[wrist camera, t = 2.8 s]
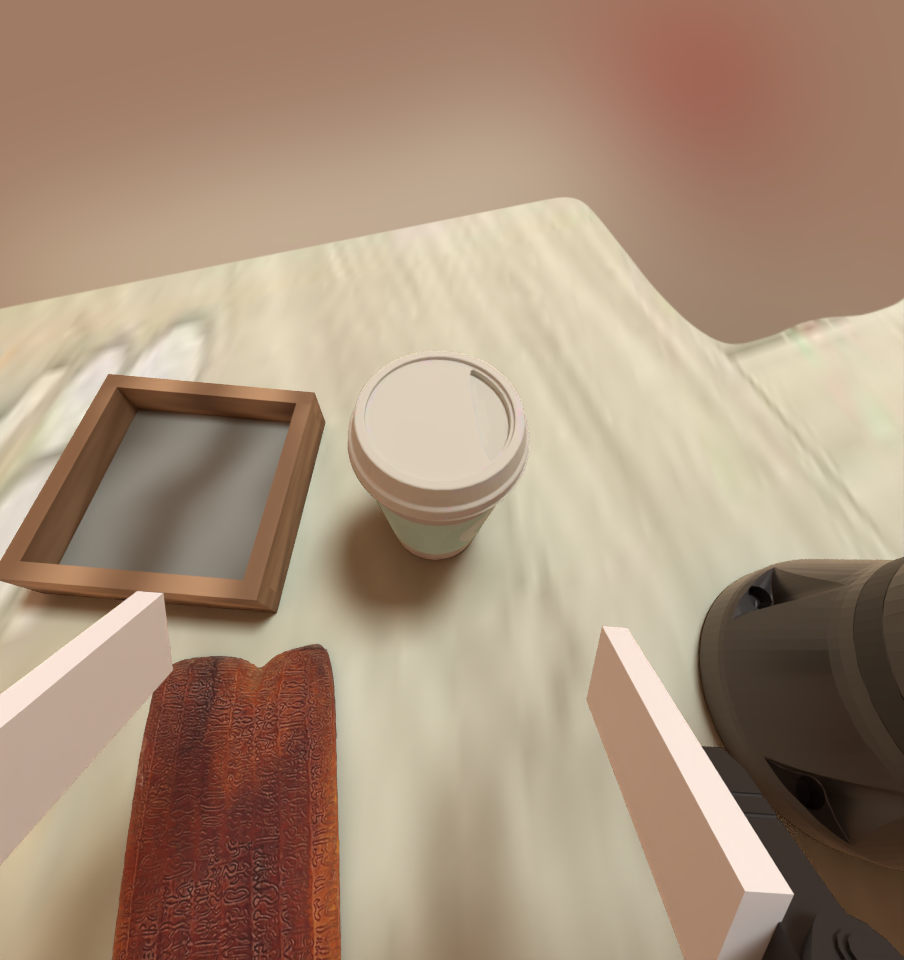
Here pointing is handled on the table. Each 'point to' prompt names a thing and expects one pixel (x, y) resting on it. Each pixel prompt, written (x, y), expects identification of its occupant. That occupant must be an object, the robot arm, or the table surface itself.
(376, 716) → the table surface
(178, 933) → the wooden tablet
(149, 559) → the wood rimmed frame
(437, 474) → the coffee cup
